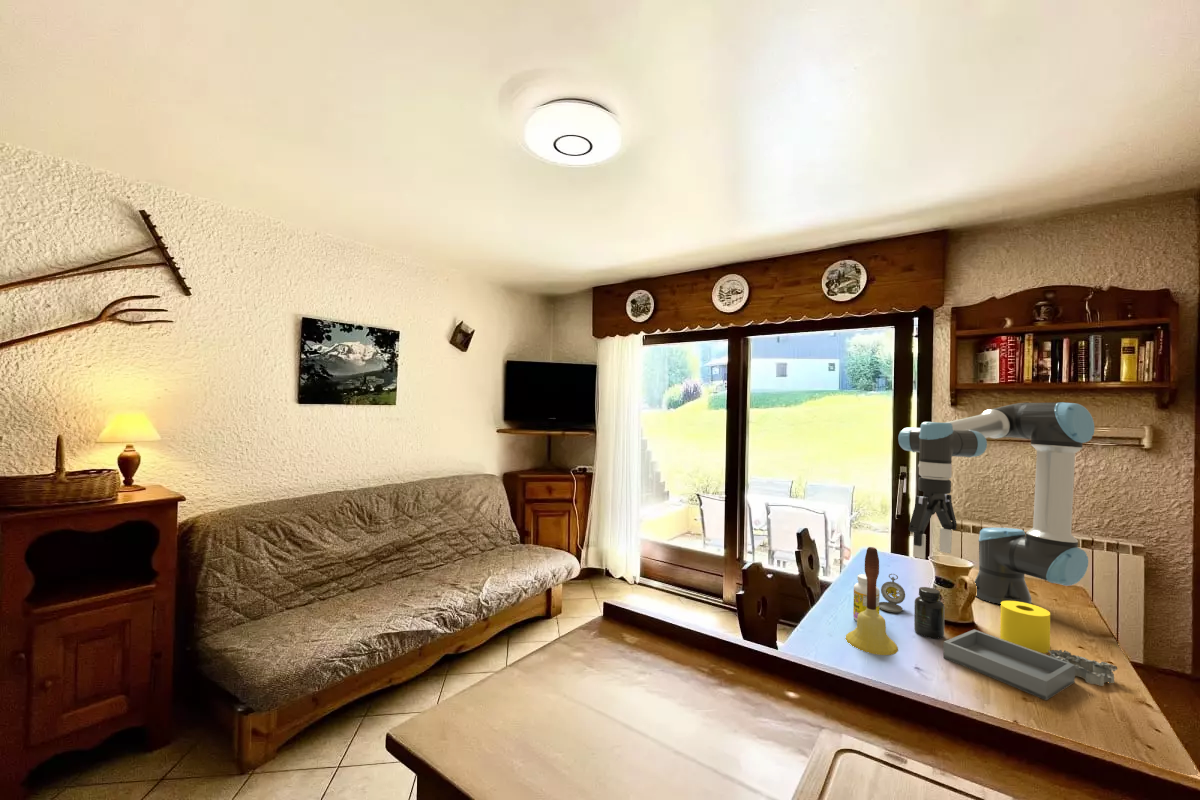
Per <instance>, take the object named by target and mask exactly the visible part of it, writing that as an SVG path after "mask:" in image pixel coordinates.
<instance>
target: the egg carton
mask: <svg viewBox="0 0 1200 800" xmlns="http://www.w3.org/2000/svg"><path fill="white" fill-rule="evenodd" d="M1048 651H1049V650H1048ZM1048 653H1050V655H1049V656H1051V657H1054V658H1057V659H1060V660H1063V661H1065V662H1068V663H1071V664H1074V665H1075V677H1080V678H1082V679H1084V680H1085V682H1086V683H1088V684H1091V685H1098V686H1100V687H1101V686H1104V685H1105V683H1106V682H1109V683H1108V684H1110V683H1114V684H1115V674H1114V672H1116V671H1117V670H1118V666H1116V665H1114V664H1112V663H1108V662H1105V661H1101V662H1099V661H1097V660H1095V659H1088V658H1086V657H1083V656H1079V655H1076V654H1072V653H1071V652H1069V651H1066V649H1065V650H1062V649H1059V650H1058V649H1057V650H1054V649H1052V650H1050V651H1049V652H1048Z"/></svg>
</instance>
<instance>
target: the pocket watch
mask: <svg viewBox="0 0 1200 800" xmlns="http://www.w3.org/2000/svg"><path fill="white" fill-rule="evenodd" d="M891 575H893V576H892V577H891ZM894 576H896V578H895V577H894ZM888 578H889V579H890V581H886V582H884V583H882V585H881V588H880V593H881V595H882V597H883V598H884V599H885V600H886V601H879V610H882V611H885V612H889V613H895V614H896V613H901V612H903V607H902V606H900V605H899V604H901V603H903V602H904V600H905V599H906V592H905V589H904V588H903V586H902V585H901V584H899V583H897V582H895V581H896V580H898V578H899V576H898V575H897V574H895V573H889V574H888Z"/></svg>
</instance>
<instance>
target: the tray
mask: <svg viewBox="0 0 1200 800" xmlns="http://www.w3.org/2000/svg"><path fill="white" fill-rule="evenodd" d="M942 657H943V658H944V659H945V660H948V661H951V662H953V663H955V664H958V665H960V666H963V667H965V668H967V669H969V670H971V671H974V672H977V673H979V674H981V675H984V676H986V677H989V678H992V679H994V680H996V681H998V682H1001V683H1004V684H1005V685H1008V686H1010V687H1012V688H1015V689H1017V690H1020V691H1023V692H1024V693H1027V694H1030V695H1031V696H1034V697H1037V698H1039V699H1042V700H1044V701H1048V700H1049V699H1051V698H1052V697H1054V696H1055V695H1057V694H1059V693H1060V692H1062V691H1063V690H1066V689H1067V688H1068V687H1070V686H1072V685H1073V684H1074V683H1075V682H1076V681H1075V677H1076V676H1075V665H1074V664H1071V663H1068V662H1065V661H1063V660H1060V659H1057V658H1054V657H1051V656H1050V655H1048V654H1047V653H1040V652H1037V651H1034V650H1031V649H1029V648H1026V647H1023V646H1020V645H1017V644H1014V643H1012V642H1009V641H1006V640H1003V639H1000V637H998V636H995V635H991V634H988V633H986V632H984V631H983V632H982V631H980V630H977V629H975V628H974V629H972V630H969V631H967V632H964V633H961V634H959V635H957V636H954V637H952V638H951V637H950V638H949V639H947V640H944V641H943V655H942Z"/></svg>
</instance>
